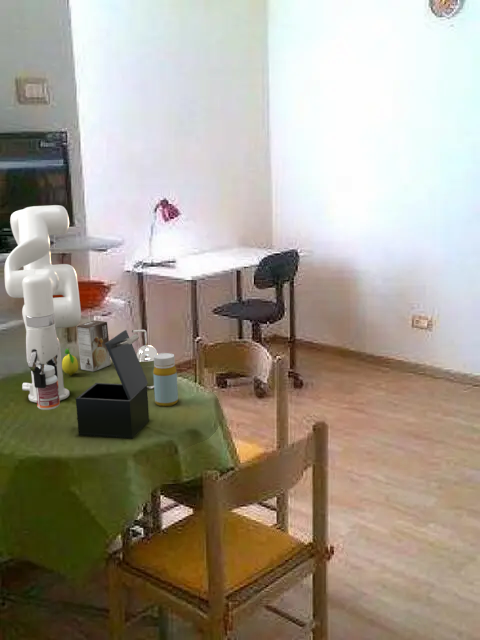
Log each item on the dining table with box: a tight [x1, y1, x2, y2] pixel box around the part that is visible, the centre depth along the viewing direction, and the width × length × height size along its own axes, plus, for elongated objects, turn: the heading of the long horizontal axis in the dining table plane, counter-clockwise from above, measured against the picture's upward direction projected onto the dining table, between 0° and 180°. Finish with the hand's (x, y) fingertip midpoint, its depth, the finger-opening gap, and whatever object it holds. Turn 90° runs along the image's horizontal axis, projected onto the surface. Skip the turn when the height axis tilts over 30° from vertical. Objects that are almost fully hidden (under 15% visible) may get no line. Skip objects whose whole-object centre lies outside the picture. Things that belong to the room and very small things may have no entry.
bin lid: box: [105, 329, 148, 400], centre depth 212 cm, size 16×14×6 cm
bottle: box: [153, 352, 179, 407], centre depth 235 cm, size 7×7×15 cm
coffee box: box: [76, 319, 112, 373], centre depth 274 cm, size 9×6×16 cm
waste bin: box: [75, 382, 150, 440], centre depth 217 cm, size 16×14×11 cm
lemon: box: [61, 347, 79, 376], centre depth 266 cm, size 7×6×10 cm
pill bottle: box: [35, 365, 61, 411], centre depth 215 cm, size 6×6×11 cm
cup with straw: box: [131, 329, 159, 390], centre depth 250 cm, size 8×9×20 cm
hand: (46, 382), depth 215 cm, fingers closed on pill bottle, 6 cm apart
